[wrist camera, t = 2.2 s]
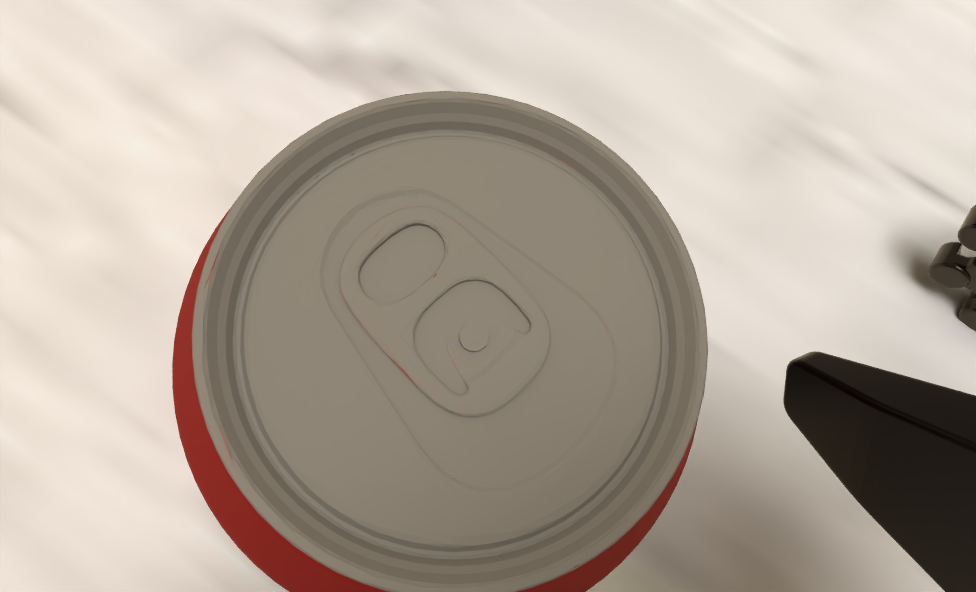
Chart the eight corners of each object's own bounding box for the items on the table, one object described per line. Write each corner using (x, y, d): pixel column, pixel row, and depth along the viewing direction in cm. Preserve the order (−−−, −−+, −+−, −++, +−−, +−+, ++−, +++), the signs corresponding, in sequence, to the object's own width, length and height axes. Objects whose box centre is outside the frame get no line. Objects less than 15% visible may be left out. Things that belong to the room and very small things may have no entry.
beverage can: (414, 599, 17) (452, 870, 6) (242, 408, 18) (-43, 300, 6) (588, 416, 19) (887, 337, 7) (427, 248, 20) (471, -66, 8)
